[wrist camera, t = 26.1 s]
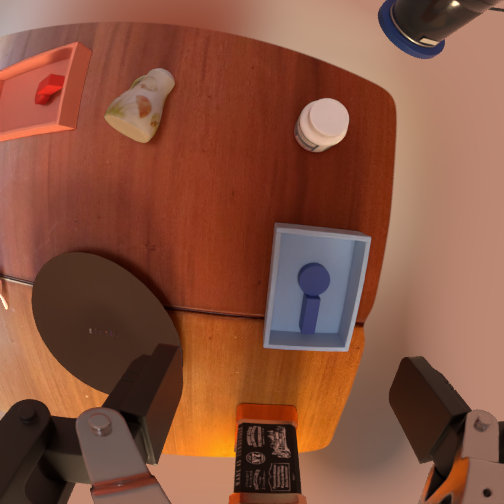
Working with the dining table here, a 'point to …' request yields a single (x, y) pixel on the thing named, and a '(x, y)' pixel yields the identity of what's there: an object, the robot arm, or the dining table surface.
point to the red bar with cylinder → (48, 88)
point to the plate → (97, 317)
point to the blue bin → (332, 300)
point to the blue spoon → (311, 294)
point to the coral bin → (25, 86)
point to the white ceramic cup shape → (141, 106)
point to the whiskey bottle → (266, 456)
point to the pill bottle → (321, 125)
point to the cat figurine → (2, 296)
